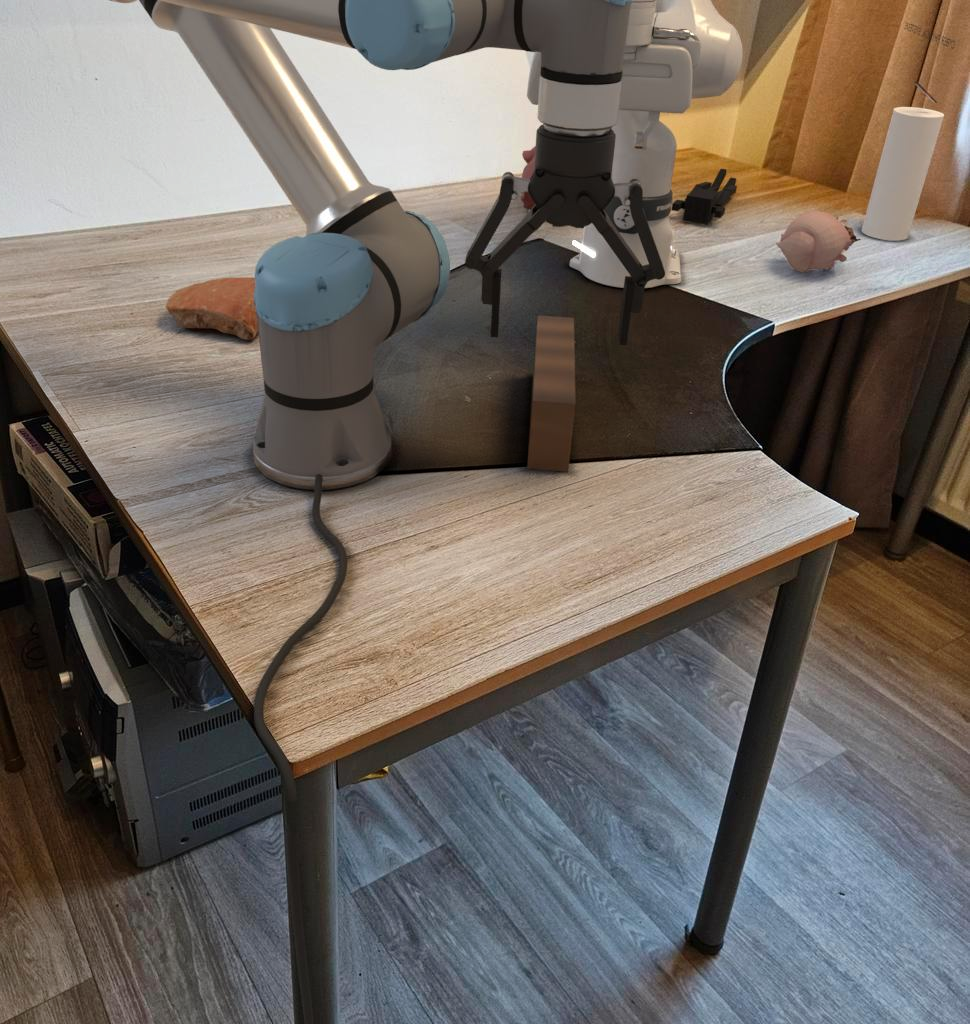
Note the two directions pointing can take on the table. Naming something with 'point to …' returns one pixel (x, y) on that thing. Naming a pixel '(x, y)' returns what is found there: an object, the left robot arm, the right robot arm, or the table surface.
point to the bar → (552, 395)
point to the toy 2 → (816, 241)
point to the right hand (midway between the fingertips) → (602, 145)
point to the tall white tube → (902, 168)
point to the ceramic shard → (217, 306)
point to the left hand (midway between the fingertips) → (558, 336)
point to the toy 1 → (706, 200)
